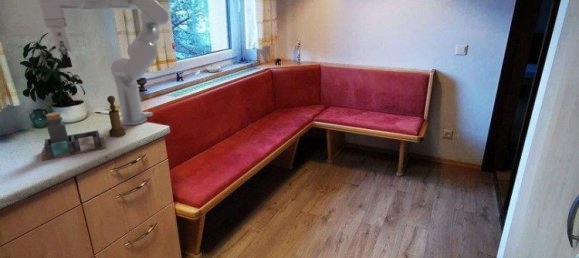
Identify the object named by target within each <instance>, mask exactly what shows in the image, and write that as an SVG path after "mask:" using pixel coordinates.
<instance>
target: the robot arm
mask: <svg viewBox="0 0 579 258" xmlns="http://www.w3.org/2000/svg"><path fill="white" fill-rule="evenodd" d="M38 2H39V7H40V10H41V15H42V17H43V21H44V24H45V28H46V29H50V33H51V36H52V41H53V44H54V46H55V49H56V52H57V53H59V54H60V55H59V56H60V57H59V58H60V60H61V64H62V65H61V66H62V68H64V69H67V68H73V64H72V61H71V56H70V54H69V52H72V48H71V47H72V46H71V44H70V43H71V42H70V40H69V37H68V33H67V29H66V28H68V27H69V25H68V22H67V18H66V15H65V10H70V11H71V10H72V11H73V10H75V11H76V10H99V11H100V10H101V11H108V10H109V11H113V10H114V11H117V10H140V21H141V25H142V26H141V31H140V32H139V33H138V35H137V36H136V37H135V38H134V39H133V41H132V42H131V43H130V44H129V45H128V47H127V50H126V52H127V55H128V58H126V57H119V58H115V60H113V61H112V63H111V66H110V69H111V75H112V77H113V81H114V83H115V87H116V91H117V99H118V103H119V107H120V108H119V109H120V114H121V117H122V118H120V122H121V126H137V125H141V124H143V123H145V122H147V120H148V118H147V117H152V116H154V113H153V112H152V111H150V112H149V111H145V112H144V111H143V108H142V102H141V97H140V90H139V84H138V81H139V80H140V79H141V78H142V77H143V76H144V75H145V74H146V73H147V71H148V70H149V69H150V67H151V66H152V65H153V64H154V62H155V60H156V59H157V56H158V50H157V48H156V46H155V45H156V44H157V42H158V40H159V37H160V28H159V26H160V27H161V26H164V25H167V23H169V22H168V21H169V19H170V17H169V12H168V11H167V9H165V7H164V6H162V5H161V4H160V3H159V2H158V1H157V0H38ZM137 80H138V81H137Z"/></svg>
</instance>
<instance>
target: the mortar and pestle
mask: <svg viewBox="0 0 579 258" xmlns="http://www.w3.org/2000/svg"><path fill="white" fill-rule="evenodd" d="M106 100H107V102H108V103H109V105H110V106H109V109H110V110H109V111H108V115H109V120H110V125H111V126H110V127H111V128H110V129H109V132H108V133H109V136H110V137H112V138H118V137H119V138H121V137H123V136H126V134H127V132H126V129H125V128H124V127H123V126H122V125H121V122H120V120H121V117H120V111H119V110H118V109H116V105H115V100H116V98H115V96H113V95H108V96H107V99H106Z"/></svg>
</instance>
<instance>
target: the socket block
mask: <svg viewBox="0 0 579 258" xmlns="http://www.w3.org/2000/svg"><path fill="white" fill-rule="evenodd" d="M67 135H68V134H67ZM68 139H69V142H67V141H63V142H57V143H51V140H50V138H45V139H44V144H43V149H42V154H41V155H42V156H41V161H42V162H46V161H49V160H55V159H59V158H65V157H69V156H74V155H80V154H85V153H90V152H95V151H100V150H101V151H102V150H104V149H105V150H106V149H107V145H106V141H105V139H104V136H100V133H99V130H92V131H85V132H79V133H74V134H69V135H68Z"/></svg>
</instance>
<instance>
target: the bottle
mask: <svg viewBox="0 0 579 258" xmlns="http://www.w3.org/2000/svg"><path fill="white" fill-rule="evenodd" d="M45 117H46V123H48V124H47V126H46V127H47V131H48V135H49V139H50V140H51V143H57V142H63V141H67V142H69V139H68V132H67V128H66V124H65V122H63V121H62V120H63V117H62V116H61V112H59V111H58V112H57V111H55V112H50V113H47V114H45Z"/></svg>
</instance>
